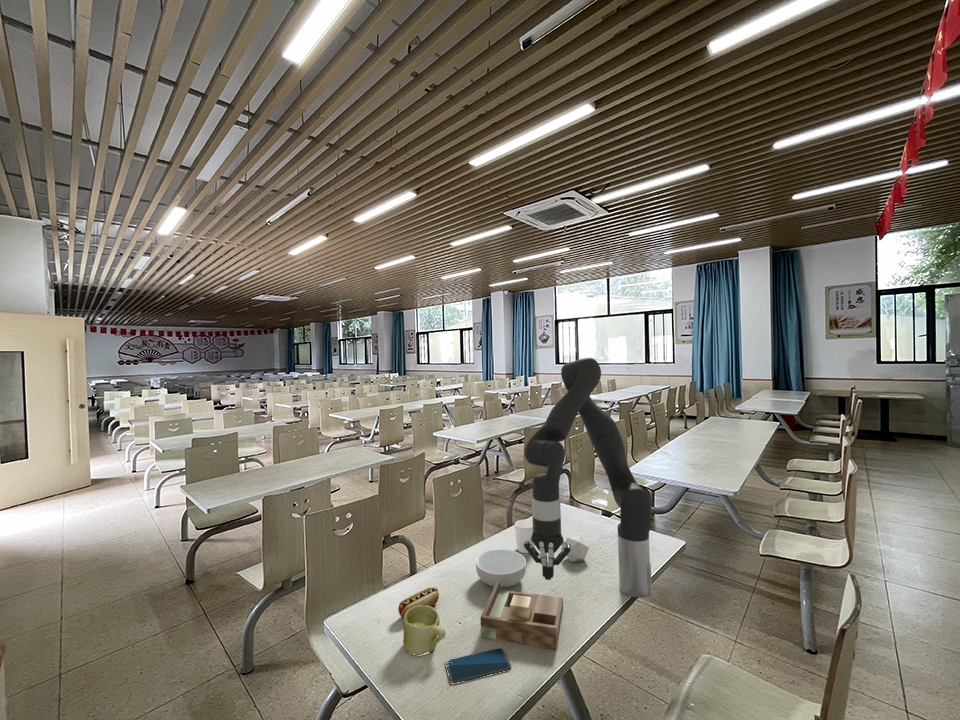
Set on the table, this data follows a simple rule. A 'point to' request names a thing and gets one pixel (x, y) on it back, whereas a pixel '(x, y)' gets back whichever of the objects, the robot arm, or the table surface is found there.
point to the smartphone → (478, 665)
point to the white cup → (523, 533)
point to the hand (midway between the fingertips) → (548, 578)
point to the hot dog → (419, 600)
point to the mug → (421, 630)
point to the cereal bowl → (501, 567)
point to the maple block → (521, 608)
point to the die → (577, 548)
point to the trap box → (532, 633)
